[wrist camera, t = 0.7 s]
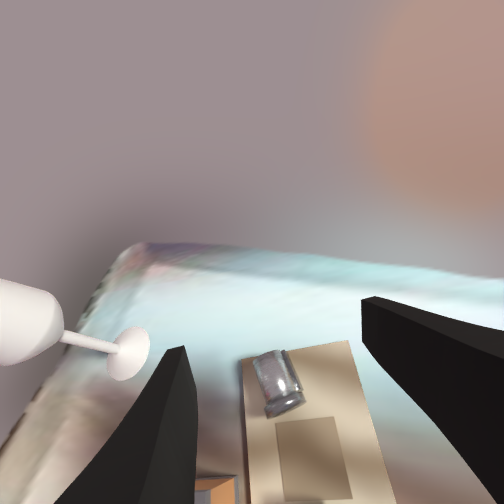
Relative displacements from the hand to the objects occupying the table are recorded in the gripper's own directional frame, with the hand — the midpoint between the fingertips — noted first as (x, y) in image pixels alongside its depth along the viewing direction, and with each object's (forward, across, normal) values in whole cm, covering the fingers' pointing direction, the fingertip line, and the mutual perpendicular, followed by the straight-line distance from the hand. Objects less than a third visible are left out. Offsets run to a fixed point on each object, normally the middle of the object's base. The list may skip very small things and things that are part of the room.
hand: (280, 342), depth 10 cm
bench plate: (+6, -3, +17) cm, 19 cm away
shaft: (+11, -2, +14) cm, 18 cm away
